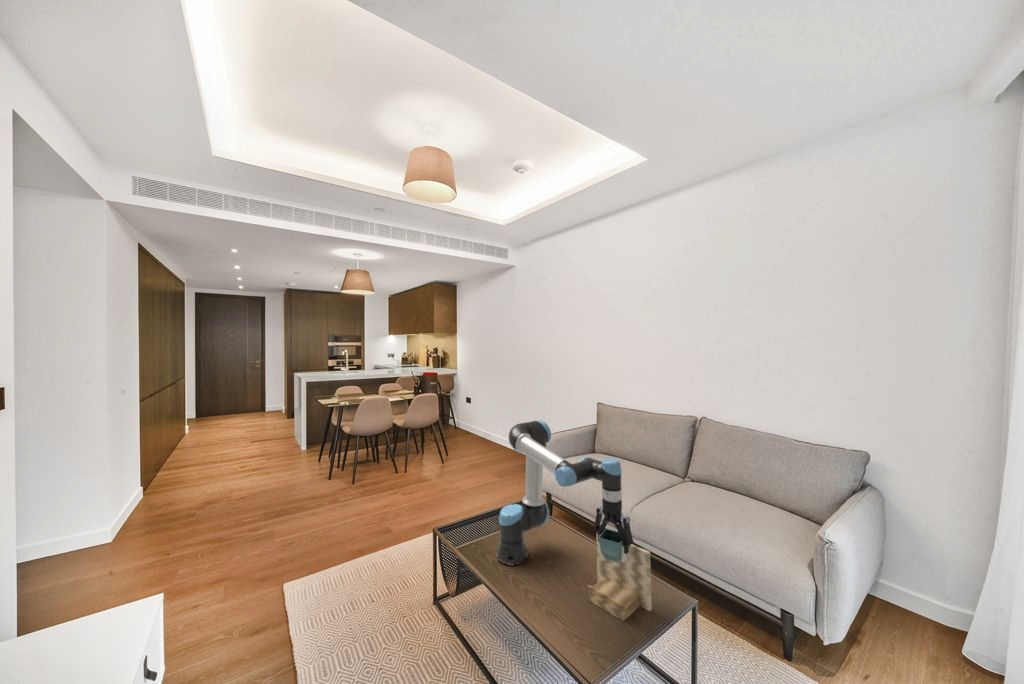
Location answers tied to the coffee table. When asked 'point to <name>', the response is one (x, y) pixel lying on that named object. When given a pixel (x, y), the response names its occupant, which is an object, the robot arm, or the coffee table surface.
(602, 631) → the coffee table surface
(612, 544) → the flower pot
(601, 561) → the board
